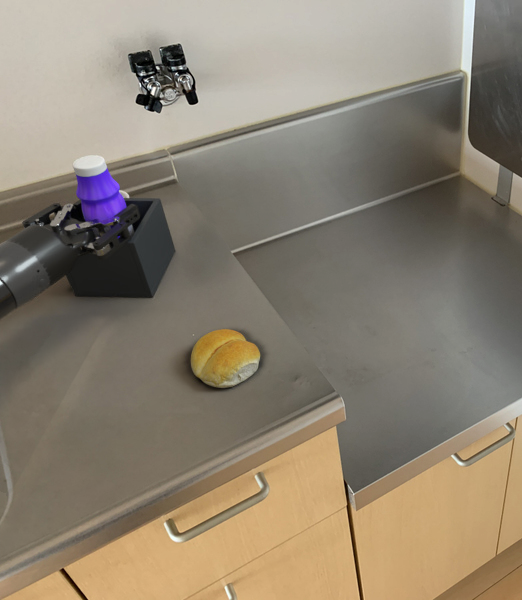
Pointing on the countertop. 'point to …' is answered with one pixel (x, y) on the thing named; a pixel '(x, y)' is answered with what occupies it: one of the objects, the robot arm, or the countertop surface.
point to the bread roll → (224, 358)
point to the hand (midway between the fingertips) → (116, 204)
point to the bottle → (98, 191)
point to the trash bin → (129, 258)
